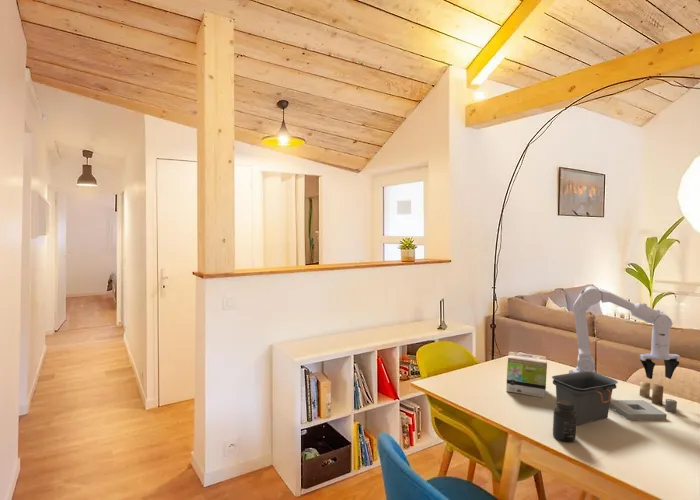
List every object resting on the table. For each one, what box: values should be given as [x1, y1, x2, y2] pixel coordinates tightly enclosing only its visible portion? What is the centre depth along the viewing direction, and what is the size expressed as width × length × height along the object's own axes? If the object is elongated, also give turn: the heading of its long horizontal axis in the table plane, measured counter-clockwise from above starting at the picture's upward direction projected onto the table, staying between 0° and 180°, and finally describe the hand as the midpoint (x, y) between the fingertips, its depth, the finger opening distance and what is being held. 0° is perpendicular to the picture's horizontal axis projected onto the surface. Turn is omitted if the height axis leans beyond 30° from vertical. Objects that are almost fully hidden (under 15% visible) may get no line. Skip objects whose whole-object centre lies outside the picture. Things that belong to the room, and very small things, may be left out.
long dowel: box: [651, 383, 664, 406], centre depth 168 cm, size 3×3×7 cm
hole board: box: [609, 399, 668, 421], centre depth 160 cm, size 14×12×2 cm
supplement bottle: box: [552, 400, 577, 443], centre depth 140 cm, size 7×7×12 cm
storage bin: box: [551, 371, 619, 426], centre depth 154 cm, size 21×16×14 cm
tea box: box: [506, 351, 548, 398], centre depth 179 cm, size 15×10×15 cm, turn 68°
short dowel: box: [664, 398, 678, 414], centre depth 161 cm, size 3×3×4 cm
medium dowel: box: [639, 380, 651, 398], centre depth 175 cm, size 3×3×6 cm
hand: (658, 377), depth 167 cm, fingers open, 7 cm apart
